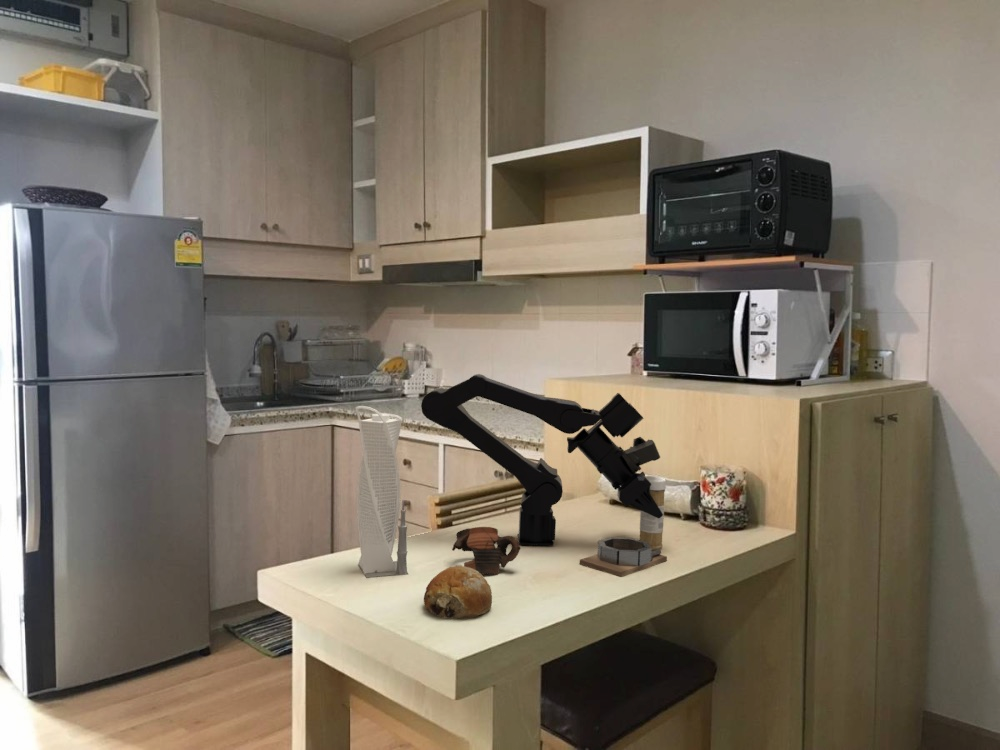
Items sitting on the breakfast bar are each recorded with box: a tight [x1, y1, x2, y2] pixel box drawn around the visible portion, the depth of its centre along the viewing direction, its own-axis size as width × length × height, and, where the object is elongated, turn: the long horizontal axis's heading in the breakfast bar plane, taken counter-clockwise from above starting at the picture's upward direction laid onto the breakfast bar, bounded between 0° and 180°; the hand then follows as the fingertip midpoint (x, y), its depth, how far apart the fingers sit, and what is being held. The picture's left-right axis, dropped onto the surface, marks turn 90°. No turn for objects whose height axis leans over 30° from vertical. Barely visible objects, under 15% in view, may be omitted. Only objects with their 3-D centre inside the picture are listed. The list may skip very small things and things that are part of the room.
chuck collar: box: [597, 536, 662, 566], centre depth 146 cm, size 11×9×2 cm
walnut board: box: [579, 553, 668, 577], centre depth 146 cm, size 14×9×1 cm, turn 136°
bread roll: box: [423, 564, 493, 620], centre depth 121 cm, size 10×10×8 cm
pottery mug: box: [451, 526, 521, 575], centre depth 140 cm, size 12×10×8 cm
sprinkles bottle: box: [639, 475, 667, 551], centre depth 155 cm, size 5×5×13 cm
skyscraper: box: [354, 405, 409, 579], centre depth 136 cm, size 8×8×28 cm
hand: (659, 513), depth 155 cm, fingers closed on sprinkles bottle, 4 cm apart
